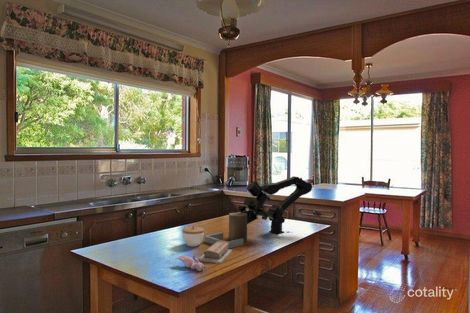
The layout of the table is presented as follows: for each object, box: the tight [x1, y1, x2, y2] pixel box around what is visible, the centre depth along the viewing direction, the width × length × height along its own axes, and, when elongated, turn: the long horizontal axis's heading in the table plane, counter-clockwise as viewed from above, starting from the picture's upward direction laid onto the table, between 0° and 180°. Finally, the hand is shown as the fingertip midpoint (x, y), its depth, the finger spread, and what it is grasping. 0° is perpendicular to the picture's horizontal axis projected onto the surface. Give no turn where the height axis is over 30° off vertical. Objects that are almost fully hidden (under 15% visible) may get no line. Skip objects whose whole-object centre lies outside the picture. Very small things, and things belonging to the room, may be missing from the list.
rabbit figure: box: [176, 254, 209, 272], centre depth 138 cm, size 6×6×15 cm
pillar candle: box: [228, 212, 248, 243], centre depth 180 cm, size 10×10×15 cm
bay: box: [203, 232, 245, 249], centre depth 173 cm, size 12×17×3 cm
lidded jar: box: [181, 225, 205, 247], centre depth 170 cm, size 11×11×9 cm
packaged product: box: [198, 241, 233, 264], centre depth 153 cm, size 18×5×10 cm
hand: (244, 224), depth 183 cm, fingers closed
